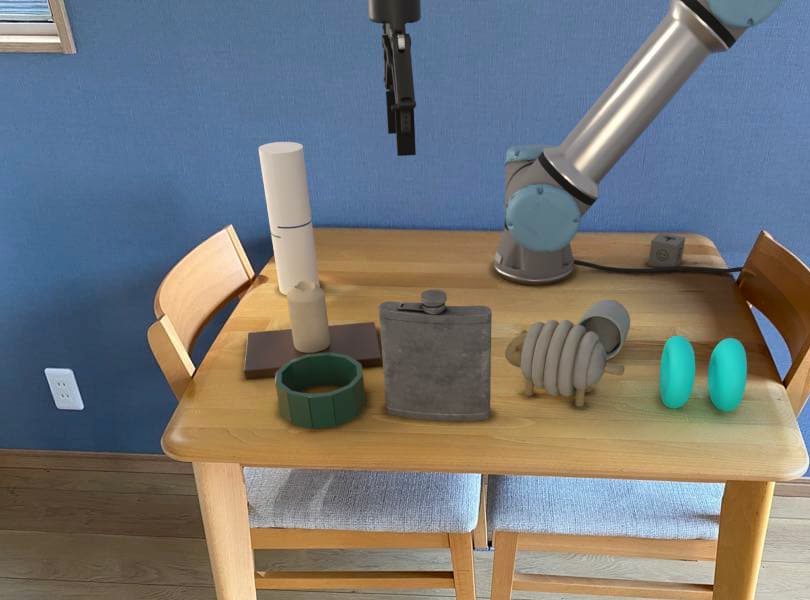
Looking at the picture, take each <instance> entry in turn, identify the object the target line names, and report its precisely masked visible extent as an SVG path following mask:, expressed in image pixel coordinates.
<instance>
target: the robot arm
mask: <svg viewBox="0 0 810 600" xmlns="http://www.w3.org/2000/svg"><path fill="white" fill-rule="evenodd" d="M783 2H784V0H668V10H667V14H666V15H665V16H664V17H663V19H662V20H661V21H660V22H659V24H658V25H657V26H656V27H655V29H654V30H653V31H652V32H651V34H650V35H649V36H648V37H647V38H646V39H645V41H644V42H643V43H642V44H641V46H640V47H639V48H638V49H637V50H636V52H635V53H634V54H633V55H632V57H631V58H630V59H629V60H628V62H627V63H626V64H625V65H624V66H623V68H622V69H621V70H620V72H619V73H618V74H616V76H615V78H614V79H613V80H612V81H611V82H610V84H609V85H608V86H607V88H606V89H605V90H604V91H603V92H602V93H601V95H600V96H599V97H598V98H597V99H596V101H595V102H594V103H593V105H592V106H591V107H590V108H589V109H588V111H587V112H586V113H585V114H584V115H583V117H582V118H581V119H580V120H579V122H578V123H577V124H576V126H574V128H573V129H572V130H571V131H570V132H569V133H568V135H567V136H566V138H565V139H564V140H563V141H562V142H561V144H560V145H555V144H520V145H514V146H511V147H510V148H508V149H507V150H506V154H505V161H504V166H505V179H504V180H505V184H504V185H505V187H504V225H503V232H502V235H501V238H500V241H499V243H498V246H497V248H496V252H495V254H494V259H493V271H494V273H495V274H496V275H497V276H498V277H500V278H501V279H503V280H505V281H508V282H512V283H514V284H519V285H527V286H545V285H547V286H548V285H552V284H558V283H561V282H564V281H566V280H567V279H569V278H570V277H572V276H573V274H574V271H575V270H574V269H575V265H576V266H581V267H586V268H590V269H595V270H599V271H603V272H612V273H622V274H623V273H627V274H651V273H652V274H654V273H667V272H677V271H680V272H681V271H682V272H683V271H684V272H685V271H686V272H688V271H689V272H705V273H718V274H731V273H732V274H733V273H739V272H742V269H743V267H744V266H736V267H731V268H730V267H729V268H721V267H720V268H719V267H706V266H693V265H692V266H690V265H684V266H683V265H678V266H674V267H662V268H659V267H650V268H649V267H648V268H647V267H646V268H637V267H636V268H628V267H614V266H613V267H612V266H607V265H600V264H595V263H591V262H588V261H582V260H578V259H574V255H573V251H572V247H571V242H572V241H573V240H574V239H575V237H576V235H577V233H578V231H579V228H580V227H581V220H582V218H583V216H584V215H585V214H586V213H587V212H588V211H589V210H590V208H592V206H593V205H594V204H595V203H596V202H597V201H598V199H599V198H600V183H601V181H603V179H604V178H605V177H606V176H607V175H608V173H610V171H611V170H612V169H613V168H614V166H616V164H617V163H618V162H619V161H620V160H621V158H622V157H623V156H624V155H625V154H626V153H627V152H628V150H629V149H630V148H631V147H632V145H634V143H636V141H637V140H638V139H639V138H640V137H641V136H642V135H643V133H644V132H645V131H646V130H647V129H648V127H650V125H651V124H652V123H653V122H654V121H655V120H656V118H657V117H658V116H659V115H660V114H661V112H662V111H663V110H664V109H665V108H666V107H667V106H668V105H669V104H670V102H671V101H672V100H673V99H674V98H675V96H676V95H677V94H678V93H679V92H680V91H681V90H682V88H683V87H685V85H686V84H687V83H688V82H689V80H690V79H691V78H692V77H693V76H694V75H695V73H696V72H697V71H698V70H699V69H700V68H701V67H702V65H703V64H704V63H705V62H706V61H707V60H708V59H709V57H710V56H711V55H713V54H718V53H726V52H728V51H729V50H730V49H731V48H732V47H733V46H734V44H735V43H736V42H737V41H738V40H739V39H740V38H741V37H742V35H743V34H745V32H746V31H747V30H749V28H753V27H755V26H758V25H759V24H761V23H763V22H765V21H767V20H768V19H769V18H771V17H772V15H774V14H775V13H776V11H778V9H779V8H780V7H781V5H782V4H783ZM367 9H368V19H369V20H370V22H372V23H376V24H381V29H382V33H383V34H381V46H382V56H383V82H384V88H385V100H386V101H385V102H386V105H385V106H386V118H387V119H386V120H387V122H386V123H387V133H388V135H393V134H394V135H395V136H396V137H395V140H396V151H397V152H396V154H397V157H406V156H416V155H417V152H416V149H417V148H416V127H415V125H416V124H415V109H416V107H417V101H416V96H415V86H414V74H413V64H412V63H413V62H412V61H413V60H412V52H411V49H412V39H411V38H412V37H411V36H410V33H407V31H406V25H407V24H415V23H418V22H419V21H420V20H421V18H422V8H421V0H367Z"/></svg>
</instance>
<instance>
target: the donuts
mask: <svg viewBox="0 0 810 600" xmlns="http://www.w3.org/2000/svg"><path fill="white" fill-rule="evenodd" d="M746 353H747V352H746V349H745V347H744V345H743V344H742V342H741V341H740V340H739V339H737V338H733V337H728V338H724V339H722V340H721V341H719V343H718V344H717V345H715V347H714V349H713V351H712V353H711V356H710V360H709V364H708V372H707V387H708V388H707V389H708V395H709V398H710V400H711V403H712V404H713V406H714V407H715V408H716V409H718V410H719V411H721V412H724V413H729V412H732V411H734V410H736V409H737V408H738V407H739V406H740V404H741V402H742V400H743V397H744V394H745V391H746V390H745V389H746V385H747V375H748V360H747V354H746ZM659 370H660V371H659V393H660V398H661V401H662V403H663V404H664V406H665V407H667V408H669V409H672V410H675V409H679V408H681V407H683V406H684V405H685V404H686V403H687V402H688V401H689V399H690V397H691V395H692V392H693V389H694V385H695V384H694V383H695V376H696V356H695V352H694V348H693V346H692V344H691V342H690V341H689V340H688V339H687V338H686V337H684V336H682V335H672V336H671V337H669V338H668V339H667V340H666V342H665V343H664V347H663V350H662V354H661V360H660V369H659Z"/></svg>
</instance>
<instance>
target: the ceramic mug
mask: <svg viewBox="0 0 810 600" xmlns="http://www.w3.org/2000/svg"><path fill="white" fill-rule="evenodd" d="M573 325H574V326H575V325H582V326H584V327H585V329H586V331H587V332H590V331H592V332H595V333H596V334H597V335H598V336H599V341H600V343H601V344H602V345H603V347H604V349H605V352H606V357H607V361H608V360H611V359H613V358H614V357H616V356H617V355H618V354H619V353H620V352H621V350H622V348H623V346H624V343H625V341H626V339H627V336H628V334H629V331H630V329H631V317H630V314H629V311H628V310H627V308H626V307H625V306H624V305H623V304H622V303H621V302H618V301H616V300H613V299H602V300H601V299H600V300H598V301H596V302H594V303H593V304H592V305H591V306H590V307H588V309H587V310H586V311H585V313H584V314H583V315H582V317H581V318H580V319H579V321H578V322H577V323H576V324H573Z"/></svg>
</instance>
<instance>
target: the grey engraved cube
mask: <svg viewBox="0 0 810 600" xmlns="http://www.w3.org/2000/svg"><path fill="white" fill-rule="evenodd" d="M685 242H686V237H684V236H680V235H675V234H669V233H665V232H659V233H658V234H657V235H656V236H655V237H653V238H652V240H651V241H650V248H649V249H650V250H649V257H648V263H647V265H648V266H649V267H653V268H662V267H674V266H680V264H681V263H682V261H683V257H684V256H683V254H684V248H685Z"/></svg>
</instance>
